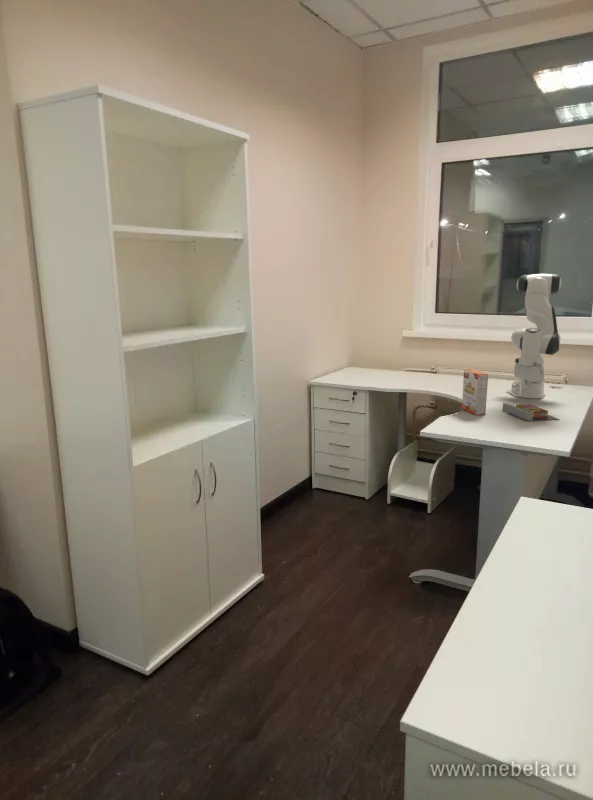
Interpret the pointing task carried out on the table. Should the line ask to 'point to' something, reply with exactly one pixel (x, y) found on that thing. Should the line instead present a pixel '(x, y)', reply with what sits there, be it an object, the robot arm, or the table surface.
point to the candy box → (535, 411)
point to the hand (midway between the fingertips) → (527, 388)
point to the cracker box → (474, 392)
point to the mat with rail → (522, 413)
